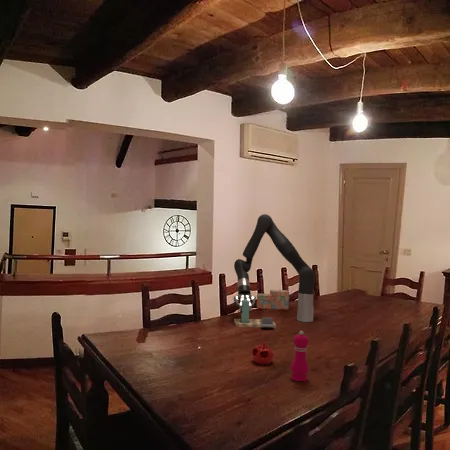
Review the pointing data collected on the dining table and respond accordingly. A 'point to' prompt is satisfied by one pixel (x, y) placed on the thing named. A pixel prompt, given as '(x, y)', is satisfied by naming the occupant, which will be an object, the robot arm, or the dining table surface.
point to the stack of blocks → (273, 300)
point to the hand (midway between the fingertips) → (245, 312)
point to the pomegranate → (262, 354)
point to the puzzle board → (250, 323)
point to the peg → (245, 311)
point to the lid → (267, 322)
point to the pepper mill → (300, 358)
